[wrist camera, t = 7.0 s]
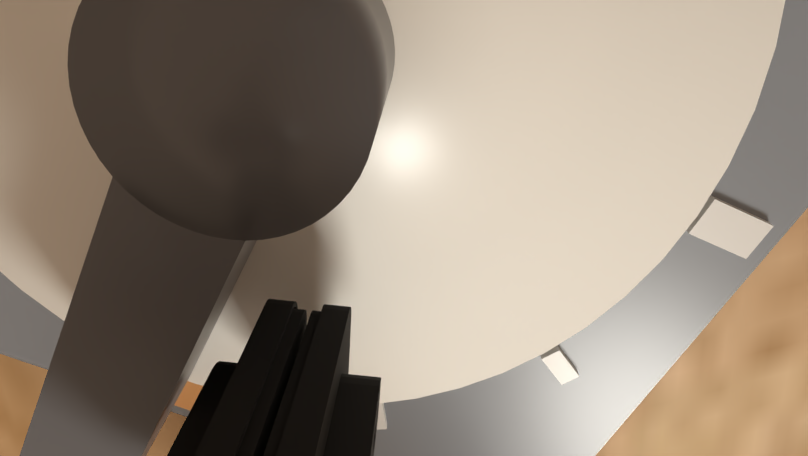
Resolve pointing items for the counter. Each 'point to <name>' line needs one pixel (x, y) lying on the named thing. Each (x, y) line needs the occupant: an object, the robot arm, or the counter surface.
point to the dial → (348, 180)
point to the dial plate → (610, 333)
